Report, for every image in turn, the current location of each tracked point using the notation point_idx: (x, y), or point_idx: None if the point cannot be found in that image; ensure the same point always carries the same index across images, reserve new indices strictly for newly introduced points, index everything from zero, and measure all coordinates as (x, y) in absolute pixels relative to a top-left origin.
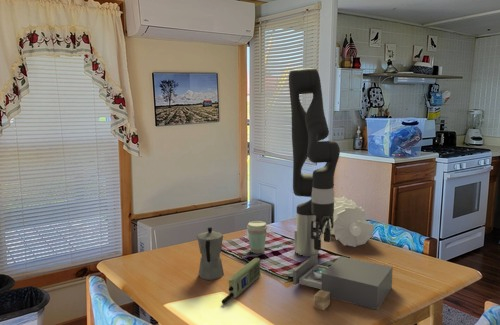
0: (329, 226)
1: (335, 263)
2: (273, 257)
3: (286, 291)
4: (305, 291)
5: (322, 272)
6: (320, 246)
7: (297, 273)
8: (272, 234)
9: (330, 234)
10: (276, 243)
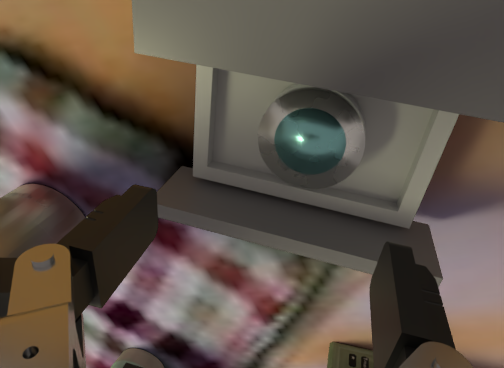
0: (71, 345)
1: (288, 63)
2: (162, 319)
3: (466, 244)
4: (447, 167)
5: (325, 129)
6: (405, 267)
7: (416, 255)
8: None
9: (91, 225)
10: None
